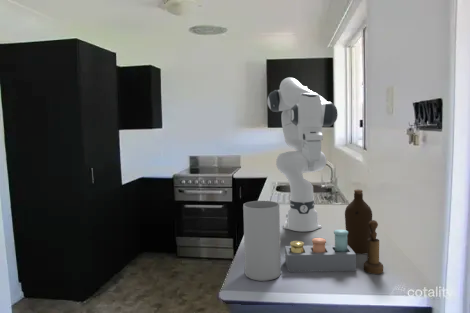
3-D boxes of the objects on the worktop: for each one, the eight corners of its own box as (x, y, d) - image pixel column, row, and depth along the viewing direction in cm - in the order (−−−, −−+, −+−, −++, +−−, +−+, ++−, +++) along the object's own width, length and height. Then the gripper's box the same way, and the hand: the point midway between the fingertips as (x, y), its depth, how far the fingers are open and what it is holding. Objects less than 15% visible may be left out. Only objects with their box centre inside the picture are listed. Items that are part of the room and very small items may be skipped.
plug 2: (311, 258, 138) (310, 237, 138) (324, 258, 138) (324, 237, 137) (313, 263, 133) (313, 242, 133) (327, 263, 133) (327, 241, 132)
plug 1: (289, 261, 139) (289, 240, 138) (303, 260, 138) (302, 240, 138) (291, 266, 134) (291, 245, 133) (305, 266, 133) (304, 245, 133)
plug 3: (332, 250, 138) (332, 229, 137) (346, 249, 137) (346, 229, 137) (335, 254, 133) (335, 233, 132) (349, 254, 132) (349, 233, 132)
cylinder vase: (260, 264, 138) (259, 199, 136) (287, 273, 130) (286, 203, 128) (237, 275, 130) (235, 205, 127) (265, 285, 121) (263, 210, 119)
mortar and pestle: (386, 269, 130) (386, 220, 129) (379, 275, 125) (379, 224, 124) (367, 265, 135) (367, 217, 133) (360, 271, 130) (360, 221, 128)
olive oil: (377, 254, 146) (377, 191, 144) (351, 255, 145) (351, 193, 143) (365, 245, 157) (365, 187, 155) (340, 246, 156) (340, 188, 154)
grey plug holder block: (285, 261, 141) (284, 246, 141) (348, 260, 140) (348, 245, 140) (288, 271, 131) (287, 255, 131) (356, 270, 130) (356, 254, 130)
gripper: (298, 134, 152) (299, 167, 153) (306, 136, 132) (306, 174, 133) (313, 134, 152) (314, 167, 153) (323, 135, 132) (324, 174, 133)
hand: (310, 170), depth 143 cm, fingers closed
